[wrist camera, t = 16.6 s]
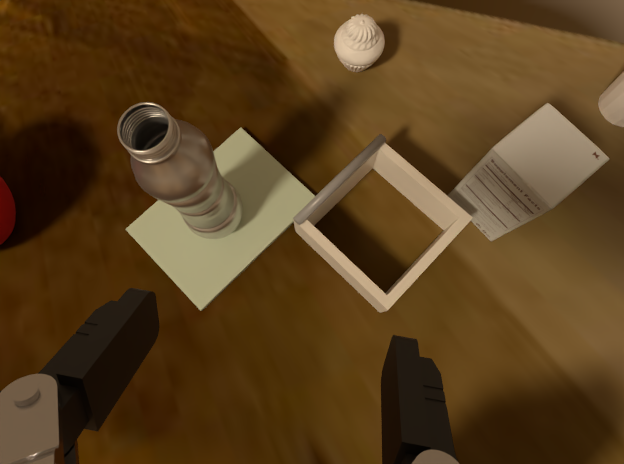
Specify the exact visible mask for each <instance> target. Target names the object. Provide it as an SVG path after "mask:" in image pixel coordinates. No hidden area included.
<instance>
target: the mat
mask: <svg viewBox="0 0 624 464" xmlns="http://www.w3.org/2000/svg"><path fill="white" fill-rule="evenodd" d="M213 152H214V156H215V160H216V164H217V167H218V169H219V172H220V174H221V175H222V177H223V178H224V179H225V180H227V181H228V182H229V183H230V184H231V185H232V186H233V187H235V188H236V190H237V191H238V193H239V195H240V197H241V201H242V218H241V221H240V223H239V225H238V226H237V228H236V229H235V230H234V231H233V232H232V233H231V234H229V235H228V236H226V237H224V238H220V239H207V238H203V237H200V236H198V235H196V234H195V233H193V232H192V231H191V230H190V229H189V228H188V226H187V225H186V223H185V222H184V220H183V218H182V215H181V214H180V213H179V212H178V210H176V209H175V208H173V207H172V206H171V205H169V204H167V203H165V202H162V201H160V200H158V201H157V202H156V203H155V204H153V205H152V206H151V207H150V208H149V209H148V210H147V211H146V212H144V213H143V214H142V215H141V216H140V217H139V218H138V219H137V220H135V221H134V222H133V223H132V224H131V225H130V226H129V227H127V228H126V230H127V232H128V233H129V234H130V235H131V236H132V237H133V238H134V239H135V240H136V241H137V242H138V243H139V245H140V246H141V247H142V248H143V249H144V250H145V251H146V252H147V253H148V254H149V255H150V256H151V258H152V259H153V260H154V261H155V262H156V263H157V264H158V265H159V266H160V267H161V268H162V269H163V270H164V272H165V273H166V274H167V275H168V276H169V277H170V278H171V279H172V280H173V281H174V282H175V283H176V285H177V286H178V287H179V288H180V289H181V290H182V291H183V292H184V293H185V294H186V295H187V296H188V298H189V299H190V300H191V301H192V302H193V303H194V304H195V305H196V306H197V307H198V308H199V309H200V311H202V310H203V309H205V308H206V307H207V306H208V305H209V304H210V303H211V302H212V301H213V300H214V299H215V298H216V297H217V296H218V295H219V294H220V293H221V292H222V291H223V290H224V289H225V288H226V287H227V286H228V285H229V284H230V283H231V282H232V281H233V280H234V279H235V278H236V277H238V276H239V275H240V274H241V273H242V272H243V271H244V270H245V269H246V268H247V267H248V266H249V265H250V264H251V263H252V262H253V261H254V260H255V259H256V258H257V257H258V256H259V255H260V254H261V253H262V252H263V251H264V250H265V249H266V248H267V247H268V246H270V245H271V244H272V243H273V242H274V241H275V240H276V239H277V238H278V237H279V236H280V235H281V234H282V233H283V232H284V231H285V230H286V229H287V228H288V227H289V226H290V225H291V224H292V223H293V222H294V221H293V218H294V217H295V216H296V215H297V214H298V213H299V212H300V211H301V210H302V209H303V208H304V207H305V206H306V205H307V204H308V203H309V202H310V201H311V200H312V199H313V198H314V197H315V196H314V195H313V194H312V193H311V192H310V191H309V190H308V189H307V188H306V187H305V186H304V185H303V184H301V183H300V182H299V181H298V180H297V179H296V178H295V177H294V176H293V175H292V174H291V173H290V172H288V171H287V170H286V169H285V168H284V167H283V166H282V165H281V164H280V163H279V162H278V161H277V160H276V159H274V158H273V157H272V156H271V155H270V154H269V153H268V152H267V151H266V150H265V149H264V148H263V147H261V146H260V145H259V144H258V143H257V142H256V141H255V140H254V139H253V138H252V137H251V136H250V135H249V134H247V133H246V132H245V131H244V130H243V129H242V128H239V129H238V130H237V131H236V132H235V133H234V134H233V135H232V136H230V137H229V138H228V139H227V140H226V141H225V142H224V143H223V144H221V145H220V146H219V147H218V148H217V149H216V150H215V151H213Z"/></svg>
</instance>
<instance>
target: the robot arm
mask: <svg viewBox="0 0 624 464" xmlns="http://www.w3.org/2000/svg"><path fill="white" fill-rule="evenodd" d="M158 332H159V318H158V311H157V303H156V296H155V293H154V292H151V291H146V290H140V289H134V288H130V289H128V290H127V291H126V292H125V293H124V294H123V296H122V297H121V298H120V299H119V300H118V301H109V302H108V303H106V304H105V305H103V306H101V307H100V308H98V309H96V310H95V311H94V312H93V313H92V315H91V316H90V317H89V318H88V319H87V320H86V321H85V324H83V325H82V326H81V327H80V328H79V329H78V330H77V331H76V334H74V335H73V336H72V337H71V338H70V339H69V340H68V341H67V342H66V343H65V345H64V346H63V347H62V348H61V349H60V350H59V351H58V352H57V353H56V355H55V356H54V357H53V358H52V359H51V360H50V361H49V362H48V363H47V365H46V366H45V367H44V368H43V369H42V370H41V371H40V372H39V373H38V374H33V375H28V376H25V377H22V378H20V379H18V380H16V381H14V382H12V383H11V384H9V385H8V386H7V387H6V388H4V389H3V390H2V391H0V464H79V455H78V443H77V438H78V437H79V435H80V434H81V432H82V431H83V429H89V430H94V431H98V430H99V429H100V427H101V426H102V424H103V423H104V421H105V419H106V418H107V416H108V415H109V413H110V412H111V410H112V409H113V407H114V405H115V404H116V402H117V401H118V399H119V398H120V396H121V394H122V393H123V391H124V390H125V388H126V387H127V385H128V384H129V382H130V380H131V379H132V377H133V376H134V374H135V373H136V371H137V370H138V368H139V366H140V365H141V363H142V362H143V360H144V359H145V357H146V356H147V354H148V352H149V351H150V349H151V348H152V346H153V345H154V343H155V341H156V339H157V336H158ZM445 402H446V401H445V395H444V392H443V384H442V379H441V373H440V372H439V370H438V368H437V367H436V365H435V364H434V362H433V360H432V359H430V358H424V357H420V356H419V349H418V342H417V340H416V339H413V338H407V337H401V336H396V335H393V336H392V339H391V342H390V346H389V349H388V352H387V356H386V359H385V362H384V366H383V370H382V377H381V413H382V464H459V462H458V460H457V458H456V455H455V451H454V445H453V440H452V434H451V429H450V423H449V418H448V412H447V407H446V404H445Z"/></svg>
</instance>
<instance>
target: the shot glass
mask: <svg viewBox="0 0 624 464" xmlns="http://www.w3.org/2000/svg"><path fill="white" fill-rule="evenodd" d="M598 105H599V109H600V112H601V114H602V115H603V116H604V118H605V119H606V120H607V121H609V122H610V123H612V124H613V125H617V126H620V127H624V71H623V72H622V73H621V74H620V75H619V76H618V77H617V79H616V80H615V81H614V82H613V83H612V84H611V85H610V86H609V87H608V88H607V89H606V90H605V91H604V92H603V93H602V95H601V96H600V98H599V103H598Z"/></svg>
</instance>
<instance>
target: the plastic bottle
mask: <svg viewBox="0 0 624 464" xmlns="http://www.w3.org/2000/svg"><path fill="white" fill-rule="evenodd" d="M117 133H118V137H119V140H120V142H121V143H122V145H123V146H124V147H125V148H126V149H127V150H128V152H129V153H130V154H131V167H132V170H133V173H134V175H135V178H136V181H137V182H138V184H139V185H140V187H141V188H142V189H143V190H144V191H145V192H147V193H148V194H150V195H151V196H153V197H154V198H156V199H158V200H160V201H162V202H165V203H167V204H169V205H171V206H172V207H173V208H175V209H176V210H178V212H179V213H180V214H181V215H182V218H183V220H184V222H185V223H186V225H187V226H188V228H189V229H190V230H191V231H192V232H193V233H195V234H196V235H198V236H200V237H203V238H207V239H220V238H224V237H226V236H228V235H229V234H231V233H232V232H233V231H234V230H235V229H236V228H237V226H238V225H239V223H240V221H241V218H242V201H241V197H240V195H239V193H238V191H237V190H236V188H235V187H233V186H232V185H231V184H230V183H229V182H228V181H227V180H225V179H224V178H223V177H222V175H221V174H220V172H219V169H218V167H217V164H216V160H215V156H214V152H213V149H212V147H211V144H210V142H209V140H208V138H207V137H206V136H205V134H204V133H203V132H201V131H200V130H199V129H198V128H196V127H195V126H193V125H191V124H189V123H188V122H185V121H182V120H175V119H174V118H173V117H172V116H170V115H169V113H168V112H167V111H166V110H165V109H164V108H163V107H162V106H160V105H158V104H156V103H152V102H142V103H138V104H136V105H133V106H132V107H130V108H129V109H127V110H126V111H125V112H124V114H123V115H122V116H121V118H120V120H119V123H118V128H117Z"/></svg>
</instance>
